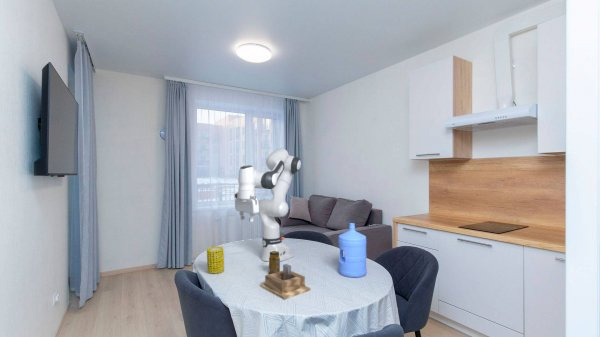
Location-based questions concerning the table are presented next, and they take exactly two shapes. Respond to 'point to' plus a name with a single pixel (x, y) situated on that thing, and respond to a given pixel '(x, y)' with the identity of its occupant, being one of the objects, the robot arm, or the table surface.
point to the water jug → (352, 253)
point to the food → (215, 259)
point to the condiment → (274, 262)
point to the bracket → (286, 272)
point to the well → (285, 285)
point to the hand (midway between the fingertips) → (246, 220)
